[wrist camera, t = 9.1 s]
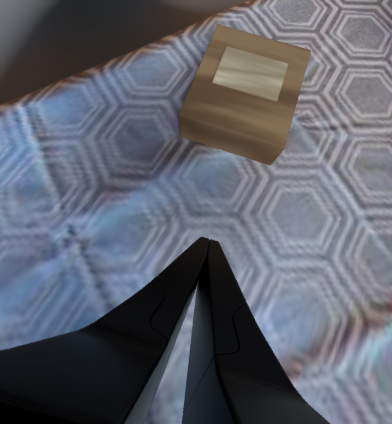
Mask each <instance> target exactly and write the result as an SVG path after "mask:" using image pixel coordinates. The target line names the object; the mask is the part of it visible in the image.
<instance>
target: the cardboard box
mask: <svg viewBox="0 0 392 424" xmlns="http://www.w3.org/2000/svg"><path fill="white" fill-rule="evenodd" d="M310 52H311V50H308V49H304V48H301V47H297V46H294V45H290V44H287V43H283V42H279V41H276V40H272V39H269V38H265V37H262V36H258V35H255V34H251V33H248V32H244V31H241V30H237V29H234V28H230V27H226V26H223V25H219V24H217V26H216V29H215V31H214V33H213V36H212V38H211V40H210V43H209V45H208V47H207V50H206V52H205V54H204V57H203V59H202V61H201V64H200V66H199V68H198V71H197V73H196V75H195V78H194V80H193V82H192V85H191V87H190V89H189V92H188V94H187V96H186V99H185V101H184V103H183V106H182V108H181V110H180V113H179V115H178V117H179V128H180V137H183V138H186V139H189V140H192V141H196V142H199V143H202V144H205V145H208V146H211V147H214V148H217V149H221V150H224V151H227V152H230V153H233V154H236V155H239V156H242V157H246V158H249V159H252V160H255V161H258V162H261V163H264V164H268V165H271V164H272V163H273V162H274V161H275V159H276V158H277V157H278V156H279V154H280V153H281V152H282V151H283V150H284V148H285V144H286V140H287V137H288V133H289V129H290V125H291V122H292V118H293V114H294V111H295V107H296V103H297V100H298V96H299V92H300V89H301V85H302V81H303V78H304V74H305V70H306V67H307V63H308V59H309V56H310Z"/></svg>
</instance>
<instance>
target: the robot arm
mask: <svg viewBox="0 0 392 424" xmlns="http://www.w3.org/2000/svg"><path fill="white" fill-rule="evenodd" d="M197 284H198V285H197ZM196 287H197V291H196V300H195V309H194V318H193V327H192V336H191V345H190V354H189V363H188V372H187V381H186V390H185V399H184V408H183V417H182V424H330V423H329V422H328V421H327V420H326V419H324V418H323V417H322V416H321V415H320V414H319V413H318V412H316V411H315V410H314V409H313V408H312V407H311V406H310V405H309V404H308V403H307V402H306V401H305V400H304V399H303V398H302V396H301V395H300V394H299V393H298V391H297V390H296V389H295V387H294V386H293V384H292V383H291V381H290V380H289V378H288V376H287V375H286V373H285V371H284V370H283V368H282V366H281V364H280V363H279V361H278V359H277V358H276V356H275V354H274V353H273V351H272V349H271V347H270V346H269V344H268V342H267V341H266V339H265V337H264V335H263V334H262V332H261V330H260V328H259V326H258V325H257V323H256V321H255V319H254V317H253V315H252V313H251V310H250V308H249V306H248V304H247V303H246V300H245V298H244V295H243V293H242V291H241V289H240V287H239V285H238V282H237V280H236V278H235V276H234V274H233V272H232V269H231V267H230V265H229V263H228V261H227V259H226V256H225V254H224V252H223V250H222V248H221V246H220V243H219V242H218V241H215V240H209V239H208V238H205V237H200V238H199V239H197V240H196V241H195V242H194V243H193V244H192V245H191V246H190V247H189V248H187V249H186V250H185V251H184V252H183V253H182V254H181V255H180V256H179V257H177V258H176V259H175V260H174V261H173V262H172V263H171V264H170V265H169V266H167V267H166V268H165V269H164V270H163V271H162V272H161V273H160V274H159V275H158V276H156V277H155V278H154V279H153V280H152V281H151V282H149V283H148V284H147V285H146V286H145V287H143V288H142V289H141V290H140V291H138V292H137V293H136V294H134V295H133V296H131V297H130V298H129V299H127V300H126V301H124V302H123V303H121V304H120V305H118V306H117V307H116V308H114V309H113V310H111V311H110V312H108V313H107V314H105V315H104V316H103V317H101V318H100V319H98V320H97V321H95V322H93V323H92V324H90V325H88V326H86V327H84V328H82V329H79V330H77V331H74V332H70V333H66V334H62V335H59V336H55V337H51V338H47V339H44V340H40V341H36V342H32V343H28V344H25V345H21V346H17V347H13V348H10V349H5V350H1V351H0V424H144V422H145V420H146V417H147V414H148V412H149V409H150V407H151V404H152V402H153V399H154V396H155V394H156V391H157V389H158V386H159V383H160V381H161V378H162V376H163V373H164V370H165V368H166V365H167V363H168V360H169V357H170V355H171V352H172V350H173V347H174V345H175V342H176V339H177V337H178V334H179V332H180V329H181V326H182V324H183V321H184V319H185V316H186V313H187V311H188V308H189V306H190V303H191V300H192V298H193V295H194V293H195V290H196Z"/></svg>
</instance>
